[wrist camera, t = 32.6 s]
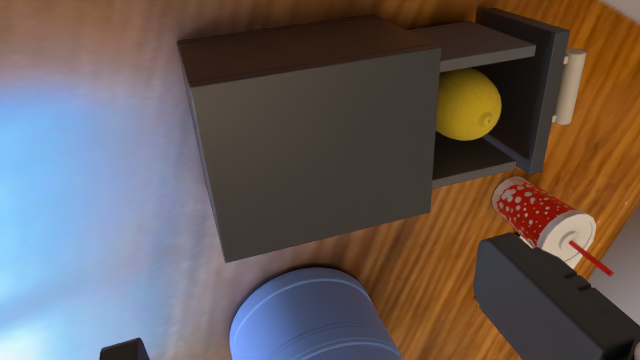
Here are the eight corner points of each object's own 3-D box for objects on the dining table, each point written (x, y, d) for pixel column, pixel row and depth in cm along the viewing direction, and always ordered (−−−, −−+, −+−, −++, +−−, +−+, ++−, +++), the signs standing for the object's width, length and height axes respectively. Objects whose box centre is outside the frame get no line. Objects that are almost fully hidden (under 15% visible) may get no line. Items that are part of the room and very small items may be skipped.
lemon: (446, 122, 44) (500, 161, 38) (394, 110, 42) (442, 149, 35) (472, 63, 42) (534, 93, 35) (419, 47, 40) (475, 76, 33)
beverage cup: (480, 187, 52) (579, 269, 41) (529, 160, 52) (640, 233, 41) (490, 226, 56) (583, 312, 44) (536, 200, 56) (641, 279, 44)
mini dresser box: (538, 1, 42) (621, 22, 35) (518, 122, 48) (586, 161, 41) (332, 30, 38) (379, 61, 31) (338, 159, 44) (378, 211, 37)
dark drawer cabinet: (374, 14, 39) (442, 46, 31) (374, 152, 46) (430, 212, 37) (176, 41, 36) (189, 87, 27) (206, 188, 42) (225, 263, 33)
